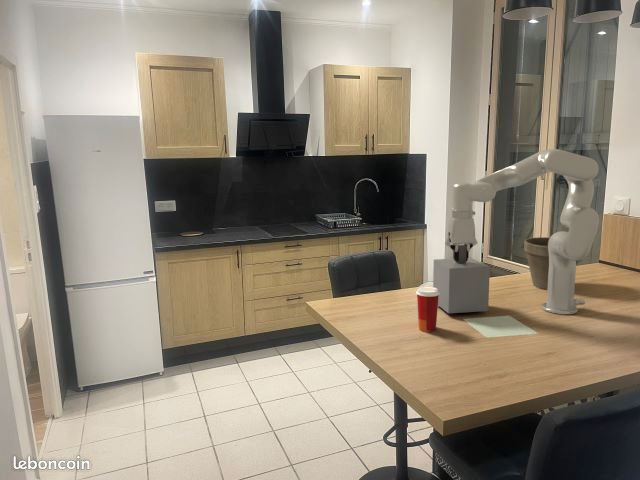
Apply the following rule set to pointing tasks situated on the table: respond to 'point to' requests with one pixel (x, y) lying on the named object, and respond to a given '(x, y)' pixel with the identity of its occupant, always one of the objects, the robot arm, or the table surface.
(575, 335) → the table surface
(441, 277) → the grey knobbed cube
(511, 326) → the mat
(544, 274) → the plant pot
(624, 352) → the table surface
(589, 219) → the robot arm
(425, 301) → the coffee cup
